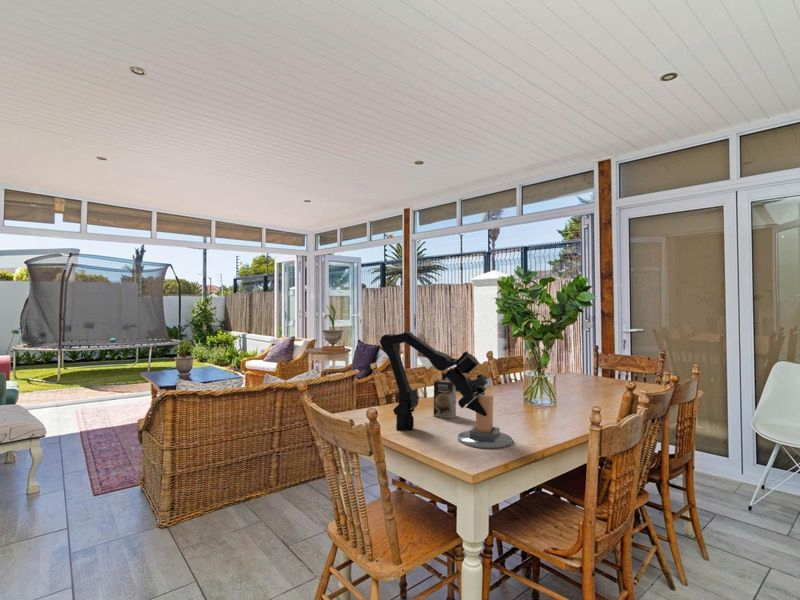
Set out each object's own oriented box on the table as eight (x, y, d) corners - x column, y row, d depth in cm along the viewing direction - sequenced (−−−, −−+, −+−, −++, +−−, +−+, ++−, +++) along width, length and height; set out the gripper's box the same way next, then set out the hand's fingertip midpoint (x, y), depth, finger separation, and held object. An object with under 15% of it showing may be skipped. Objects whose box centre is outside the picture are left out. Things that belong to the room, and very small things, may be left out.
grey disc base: (450, 443, 157) (450, 432, 157) (467, 429, 175) (467, 419, 175) (505, 452, 148) (505, 440, 148) (517, 436, 166) (517, 426, 166)
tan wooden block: (475, 432, 161) (476, 396, 161) (479, 428, 165) (480, 394, 165) (489, 433, 158) (489, 398, 159) (492, 430, 163) (492, 395, 163)
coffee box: (433, 416, 196) (433, 381, 196) (437, 413, 202) (437, 379, 202) (452, 418, 192) (452, 382, 192) (456, 415, 198) (456, 380, 198)
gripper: (467, 371, 155) (497, 405, 150) (481, 365, 172) (509, 395, 167) (446, 390, 159) (475, 425, 154) (462, 383, 176) (488, 413, 171)
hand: (488, 413), depth 161 cm, fingers closed on tan wooden block, 5 cm apart
